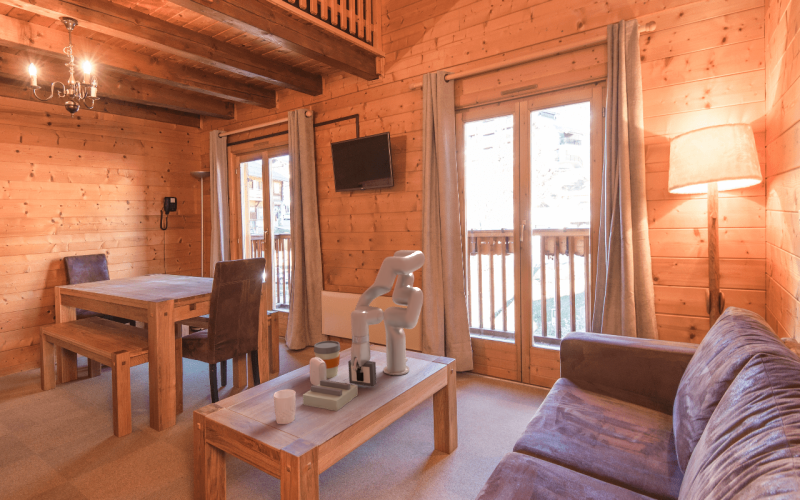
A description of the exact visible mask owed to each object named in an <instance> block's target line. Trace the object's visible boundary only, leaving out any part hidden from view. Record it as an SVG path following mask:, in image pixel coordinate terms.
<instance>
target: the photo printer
mask: <svg viewBox="0 0 800 500" xmlns="http://www.w3.org/2000/svg"><path fill="white" fill-rule="evenodd" d="M309 379H310V383H311V385H315V386H318V385H319V384H320V381H321V380H328V378H327V374H326V364H325V362H324V361H323V360H322V359H320V358H318V357H315V356H314V357H312V358H310V359H309Z"/></svg>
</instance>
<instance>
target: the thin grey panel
mask: <svg viewBox="0 0 800 500" xmlns="http://www.w3.org/2000/svg"><path fill="white" fill-rule="evenodd" d="M347 362H348V381H349V383H348V384H351V385H357V386H358V385H359V386H366V387H373V388H374V387H375V386H376V385H377V383H378V382H377V367H376V366H377V365H376V363H377V362H376V361H371V360H369V361H367V362H366V363H364V365H363V367H362V372H363V375H364V381H363V382H362V381H357V375H356V371H355V370H353V366H352V365H351V359H350V360H348V361H347ZM358 365H359V364H358ZM358 368H360V367H358Z"/></svg>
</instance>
